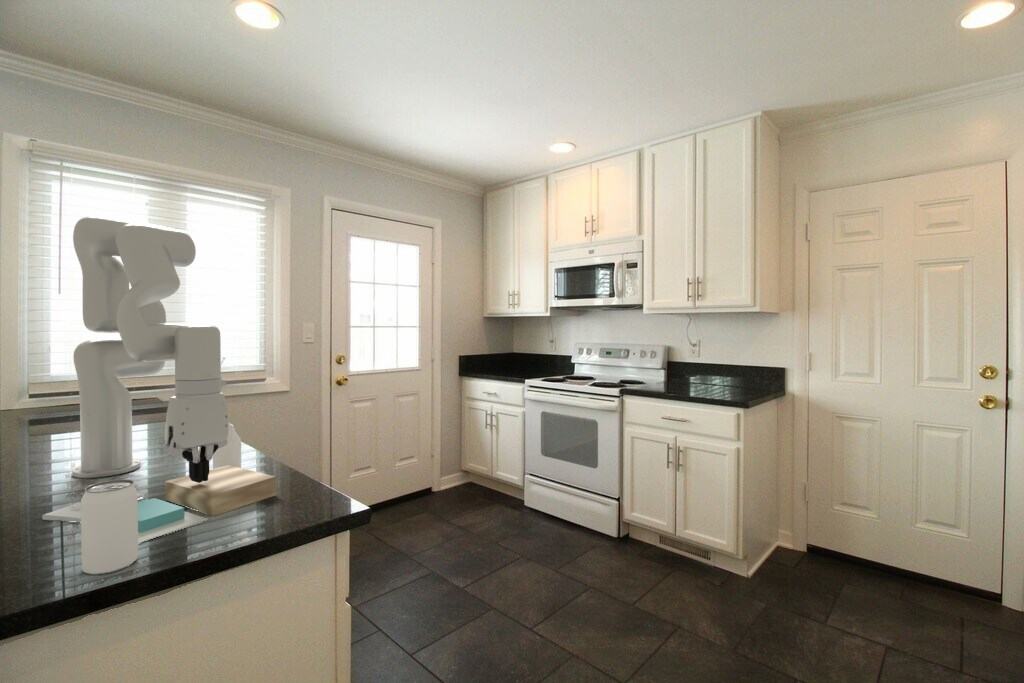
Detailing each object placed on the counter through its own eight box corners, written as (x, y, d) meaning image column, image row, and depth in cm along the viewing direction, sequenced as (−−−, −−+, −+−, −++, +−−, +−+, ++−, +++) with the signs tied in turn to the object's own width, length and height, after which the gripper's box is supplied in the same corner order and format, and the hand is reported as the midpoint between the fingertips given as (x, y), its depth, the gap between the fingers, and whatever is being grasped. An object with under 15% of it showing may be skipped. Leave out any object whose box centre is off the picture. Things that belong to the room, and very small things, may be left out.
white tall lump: (211, 426, 112) (212, 422, 117) (212, 478, 112) (212, 471, 117) (241, 424, 115) (240, 420, 120) (241, 474, 115) (241, 468, 120)
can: (104, 555, 75) (102, 478, 75) (148, 554, 76) (147, 478, 75) (69, 576, 69) (68, 493, 68) (118, 575, 69) (117, 492, 69)
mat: (86, 521, 88) (86, 520, 87) (154, 502, 97) (154, 500, 97) (139, 544, 79) (138, 542, 79) (207, 520, 89) (207, 518, 89)
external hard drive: (143, 501, 99) (79, 526, 87) (109, 498, 101) (42, 522, 88) (143, 493, 99) (79, 517, 87) (109, 490, 101) (41, 513, 88)
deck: (165, 500, 98) (165, 481, 98) (228, 482, 110) (228, 465, 109) (212, 516, 91) (212, 495, 90) (275, 495, 102) (275, 476, 102)
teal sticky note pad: (154, 497, 93) (154, 508, 93) (110, 510, 87) (110, 521, 87) (184, 507, 89) (184, 518, 89) (140, 521, 83) (140, 532, 83)
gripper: (224, 382, 104) (225, 468, 104) (145, 390, 91) (146, 488, 91) (246, 385, 100) (247, 473, 101) (167, 394, 87) (168, 495, 88)
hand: (199, 480), depth 96 cm, fingers closed
